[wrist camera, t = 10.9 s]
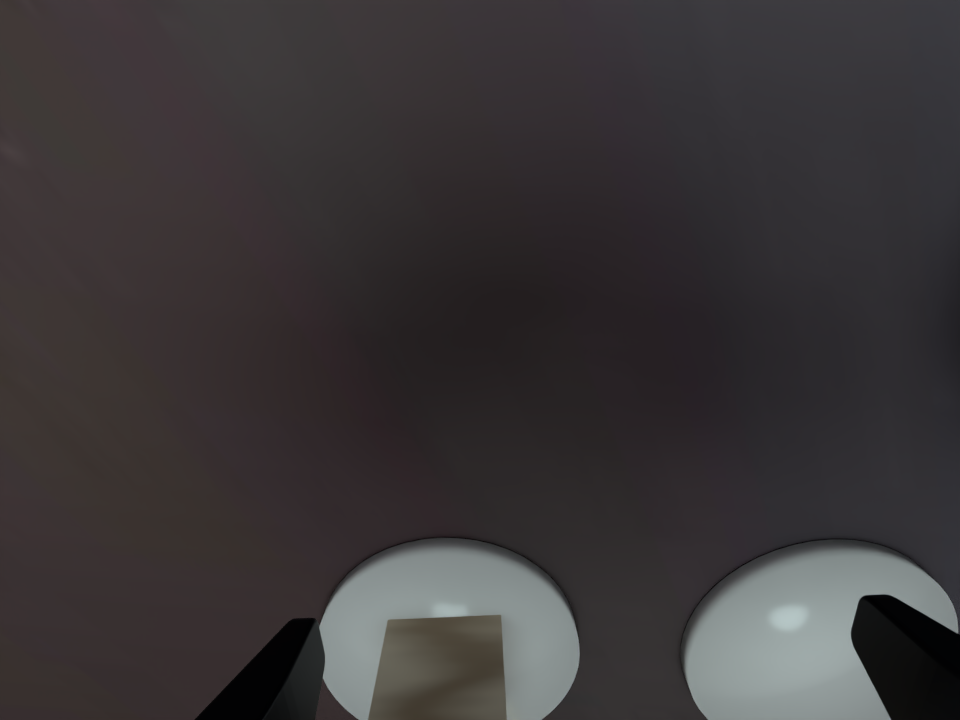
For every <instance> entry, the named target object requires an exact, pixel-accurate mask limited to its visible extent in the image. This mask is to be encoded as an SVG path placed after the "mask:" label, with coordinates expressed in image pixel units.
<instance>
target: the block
mask: <svg viewBox="0 0 960 720" xmlns="http://www.w3.org/2000/svg"><path fill="white" fill-rule="evenodd" d="M368 720H507V713H506V693H505V675H504V658H503V640H502V622H501V615H484V616H460V617H437V618H414V619H391V620H388V621H387V626H386V631H385V636H384V641H383V647H382V652H381V657H380V662H379V667H378V672H377V677H376V682H375V687H374V692H373V697H372V702H371V707H370V712H369V717H368Z"/></svg>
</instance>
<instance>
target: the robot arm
mask: <svg viewBox="0 0 960 720" xmlns="http://www.w3.org/2000/svg"><path fill="white" fill-rule="evenodd" d="M851 640H852V644H853V647H854V649H855V651H856V653H857V655H858V657H859V659H860V661H861V663H862V664H863V666H864V668H865V670H866V672H867V674H868V676H869V678H870V680H871V682H872V684H873V686H874V688H875V690H876V692H877V693H878V695H879V697H880V699H881V701H882V703H883V705H884V707H885V709H886V711H887V713H888V715H889V717H890V719H891V720H960V635H959V634H957V633H956V632H954V631H952V630H951V629H949V628H947V627H945V626H944V625H942V624H940V623H939V622H937V621H935V620H933V619H932V618H930V617H928V616H926V615H925V614H923V613H921V612H920V611H918V610H916V609H914V608H913V607H911V606H909V605H908V604H906V603H904V602H902V601H901V600H899V599H897V598H895V597H893V596H891V595H886V594H880V595H865V596H863V597H861V598H860V600H859V602H858V606H857V609H856V613H855V617H854V621H853V624H852V628H851ZM324 667H325V652H324V647H323V642H322V638H321V633H320V629H319V624H318V622H317V620H316V619H315V618H296V619H292V620H290V621H289V622H288V623H287V624H286V625H285V626H284V627H283V628H282V629H281V630H280V631H279V632H278V633H277V634H276V635H275V636H274V637H273V638H272V639H271V640H270V641H269V642H268V643H267V645H266V646H265V647H264V648H263V649H262V650H261V651H260V652H259V653H258V654H257V655H256V656H255V657H254V658H253V659H252V660H251V661H250V662H249V663H248V664H247V665H246V666H245V667H244V669H243V670H242V671H241V672H240V673H239V674H238V675H237V676H236V677H235V678H234V679H233V680H232V681H231V682H230V683H229V684H228V685H227V686H226V687H225V688H224V689H223V690H222V692H221V693H220V694H219V695H218V696H217V697H216V698H215V699H214V700H213V701H212V702H211V703H210V704H209V705H208V706H207V707H206V708H205V709H204V710H203V711H202V712H201V713H200V714H199V716H198V717H197V718H196V719H195V720H315V716H316V711H317V705H318V700H319V695H320V689H321V684H322V679H323V673H324Z"/></svg>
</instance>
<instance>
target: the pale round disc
mask: <svg viewBox="0 0 960 720" xmlns="http://www.w3.org/2000/svg"><path fill="white" fill-rule="evenodd" d="M484 615H501V622H502V640H503V658H504V675H505V693H506V713H507V720H542V719H543V718H544V717H545V716H547V715H548V714H549V713H550V712H551V711H553V710H554V708H555V707H556V706H557V705H558V704H559V703H560V702H561V701H562V700H563V698H564V697H565V695H566V694H567V692H568V691H569V689H570V687H571V685H572V683H573V681H574V679H575V676H576V673H577V669H578V665H579V656H580V651H579V639H578V635H577V630H576V625H575V620H574V616H573V612H572V609H571V607H570V605H569V603H568V600H567V598H566V597H565V595H564V593H563V592H562V590H561V589H560V587H559V586H558V585H557V584H556V583H555V582H554V580H553V579H552V578H551V577H550V576H549V575H548V574H547V573H546V572H544V571H543V570H542V569H541V568H540V567H538V566H537V565H536V564H534V563H532V562H531V561H529V560H528V559H526V558H525V557H523V556H521V555H519V554H517V553H515V552H513V551H510V550H508V549H505V548H502V547H500V546H497V545H494V544H490V543H486V542H481V541H477V540H470V539H461V538H432V539H422V540H417V541H412V542H407V543H403V544H400V545H397V546H394V547H391V548H388V549H386V550H384V551H381V552H379V553H377V554H375V555H373V556H371V557H370V558H368V559H367V560H365V561H363V562H362V563H360V564H359V565H358V566H356V567H355V568H354V569H353V570H352V571H350V572H349V573H348V574H347V575H346V576H345V578H344V579H343V580H342V581H341V582H340V583H339V584H338V586H337V587H336V589H335V591H334V592H333V594H332V595H331V597H330V600H329V602H328V604H327V607H326V609H325V612H324V615H323V618H322V621H321V624H320V627H319V629H320V633H321V638H322V642H323V647H324V652H325V667H324V673H323V679H324V681H325V683H326V685H327V687H328V689H329V690H330V691H331V693H332V694H333V696H334V697H335V698H336V700H337V701H338V702H339V703H340V704H341V705H342V706H343V707H344V708H345V709H346V710H347V711H349V712H350V713H351V714H352V715H353V716H355V717H356V718H357V719H359V720H368V717H369V712H370V707H371V702H372V697H373V692H374V687H375V682H376V677H377V672H378V667H379V662H380V657H381V652H382V647H383V641H384V636H385V631H386V626H387V621H388V620H391V619H414V618H437V617H460V616H484Z"/></svg>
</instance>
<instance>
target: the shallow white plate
mask: <svg viewBox="0 0 960 720" xmlns="http://www.w3.org/2000/svg"><path fill="white" fill-rule="evenodd" d="M880 594H886V595H891V596H893V597H895V598H897V599H899V600H901V601H902V602H904V603H906V604H908V605H909V606H911V607H913V608H914V609H916V610H918V611H920V612H921V613H923V614H925V615H926V616H928V617H930V618H932V619H933V620H935V621H937V622H939V623H940V624H942V625H944V626H945V627H947V628H949V629H951V630H952V631H954V632H956V633H957V634H958V623H957V616H956V613H955V609H954V606H953V604H952V602H951V601H950V599H949V597H948V595H947V594H946V593H945V591H944V590H943V589H942V588H941V587H940V586H939V584H938V583H937V582H936V581H934V580H933V579H932V578H931V577H930V576H929V575H928V574H927V573H926V572H925V571H924V570H923V569H922V568H921V567H919V566H918V565H917V564H916V563H914V562H913V561H912V560H911V559H910V558H908V557H906V556H904V555H903V554H901V553H899V552H897V551H895V550H892V549H890V548H887V547H885V546H882V545H878V544H874V543H870V542H865V541H857V540H844V539H830V540H819V541H811V542H805V543H800V544H795V545H792V546H788V547H785V548H781V549H778V550H775V551H773V552H770V553H768V554H765V555H763V556H760V557H758V558H756V559H754V560H752V561H750V562H748V563H747V564H745V565H743V566H741V567H740V568H738V569H737V570H735V571H734V572H732V573H731V574H729V575H728V576H726V577H725V578H724V579H723V580H722V581H720V582H719V583H718V584H717V585H715V586H714V587H713V588H712V589H711V591H710V592H709V593H708V594H707V595H706V596H705V597H704V598H703V599H702V601H701V602H700V603H699V604H698V606H697V607H696V608H695V610H694V612H693V613H692V615H691V617H690V619H689V621H688V623H687V625H686V628H685V631H684V633H683V637H682V642H681V654H680V659H681V665H682V670H683V673H684V676H685V679H686V681H687V684H688V686H689V689H690V691H691V694H692V697H693V699H694V701H695V703H696V704H697V706H698V708H699V709H700V711H701V712H702V713H703V714H704V715H705V717H706V718H707V719H708V720H891V719H890V717H889V715H888V713H887V711H886V709H885V707H884V705H883V703H882V701H881V699H880V697H879V695H878V693H877V692H876V690H875V688H874V686H873V684H872V682H871V680H870V678H869V676H868V674H867V672H866V670H865V668H864V666H863V664H862V663H861V661H860V659H859V657H858V655H857V653H856V651H855V649H854V647H853V644H852V640H851V628H852V624H853V621H854V617H855V613H856V609H857V606H858V602H859V600H860V598H861V597H863V596H865V595H880Z"/></svg>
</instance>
